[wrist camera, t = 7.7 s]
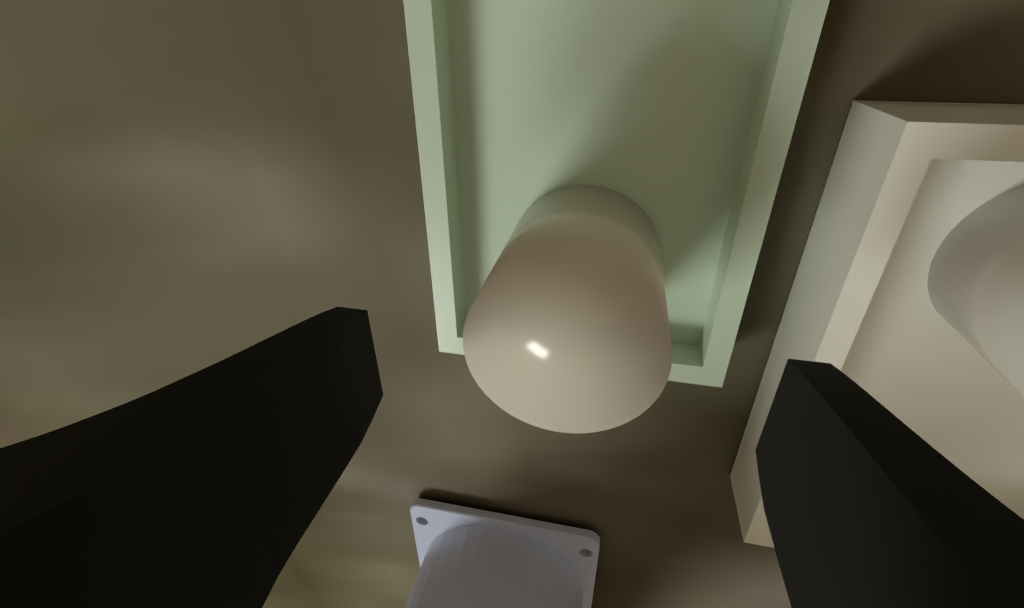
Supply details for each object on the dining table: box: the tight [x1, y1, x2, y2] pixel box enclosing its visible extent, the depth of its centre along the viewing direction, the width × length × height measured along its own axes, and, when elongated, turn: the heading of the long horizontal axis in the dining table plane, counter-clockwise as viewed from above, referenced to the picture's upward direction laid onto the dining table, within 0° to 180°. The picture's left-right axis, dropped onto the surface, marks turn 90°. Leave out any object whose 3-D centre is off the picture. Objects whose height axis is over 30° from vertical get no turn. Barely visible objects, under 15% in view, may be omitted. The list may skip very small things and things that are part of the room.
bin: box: [730, 100, 1024, 548], centre depth 12 cm, size 12×9×2 cm
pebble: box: [463, 185, 672, 433], centre depth 11 cm, size 4×4×4 cm
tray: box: [403, 0, 830, 388], centre depth 11 cm, size 12×8×2 cm, turn 0°
